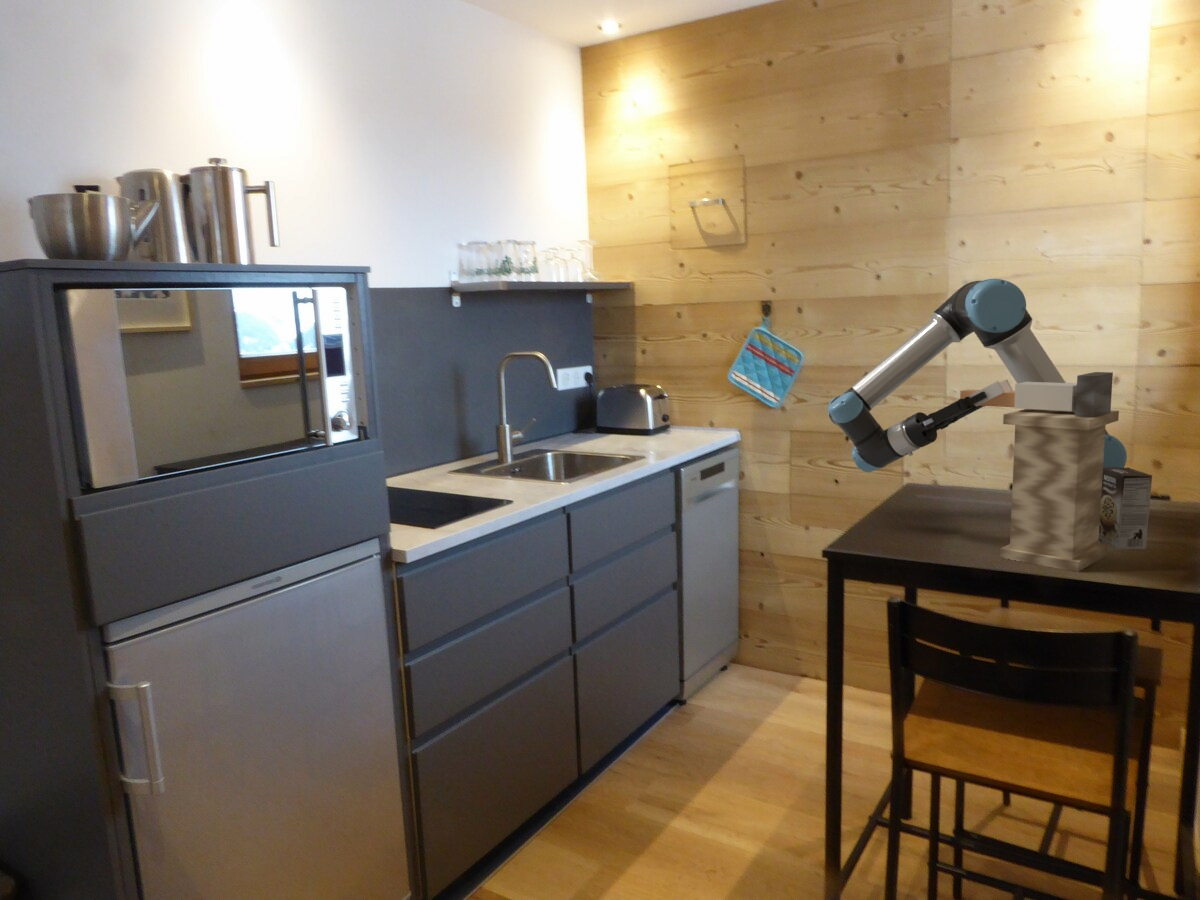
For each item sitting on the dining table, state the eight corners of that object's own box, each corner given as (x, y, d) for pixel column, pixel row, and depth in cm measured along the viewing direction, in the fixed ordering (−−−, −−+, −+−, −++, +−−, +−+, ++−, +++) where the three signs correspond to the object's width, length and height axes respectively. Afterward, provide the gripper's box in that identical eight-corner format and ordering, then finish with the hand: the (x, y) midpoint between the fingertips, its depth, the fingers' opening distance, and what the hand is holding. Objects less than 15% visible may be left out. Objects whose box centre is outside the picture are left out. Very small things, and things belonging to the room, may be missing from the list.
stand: (997, 557, 181) (1005, 374, 176) (1029, 541, 193) (1038, 369, 187) (1080, 572, 170) (1091, 377, 164) (1110, 554, 181) (1121, 371, 175)
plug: (957, 405, 189) (958, 382, 188) (969, 402, 193) (970, 379, 192) (1075, 411, 172) (1077, 386, 171) (1086, 408, 176) (1088, 383, 175)
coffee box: (1094, 538, 193) (1098, 467, 191) (1123, 538, 193) (1128, 466, 191) (1117, 550, 184) (1121, 475, 182) (1148, 549, 184) (1153, 474, 182)
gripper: (937, 443, 205) (1029, 398, 189) (902, 453, 194) (996, 405, 178) (923, 415, 207) (1012, 367, 191) (887, 422, 196) (979, 373, 179)
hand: (1004, 386), depth 184 cm, fingers closed on plug, 4 cm apart
